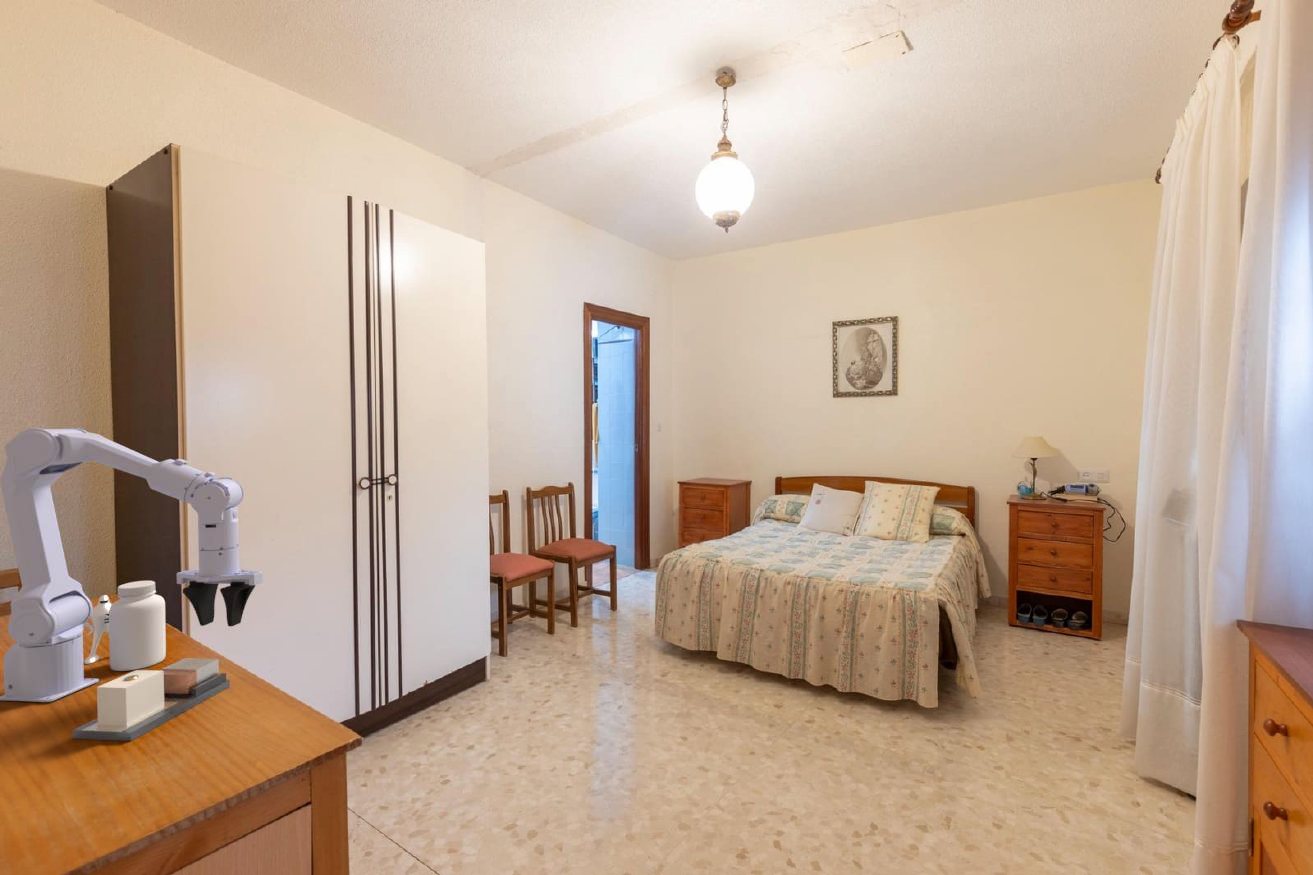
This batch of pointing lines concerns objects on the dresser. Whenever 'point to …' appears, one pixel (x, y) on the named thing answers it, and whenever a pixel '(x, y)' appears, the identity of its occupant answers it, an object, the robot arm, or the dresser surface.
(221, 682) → the base plate
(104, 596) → the figurine
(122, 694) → the block
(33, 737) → the dresser surface
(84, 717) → the dresser surface
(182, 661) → the block
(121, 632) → the pill bottle
